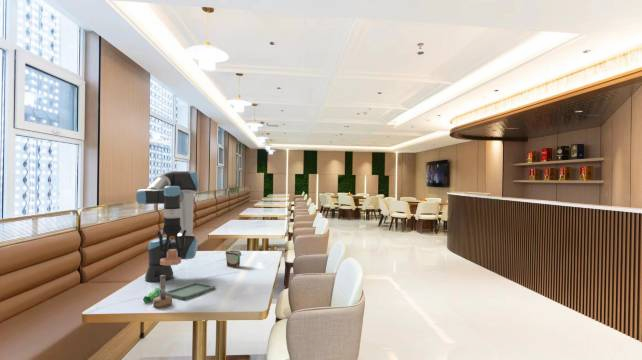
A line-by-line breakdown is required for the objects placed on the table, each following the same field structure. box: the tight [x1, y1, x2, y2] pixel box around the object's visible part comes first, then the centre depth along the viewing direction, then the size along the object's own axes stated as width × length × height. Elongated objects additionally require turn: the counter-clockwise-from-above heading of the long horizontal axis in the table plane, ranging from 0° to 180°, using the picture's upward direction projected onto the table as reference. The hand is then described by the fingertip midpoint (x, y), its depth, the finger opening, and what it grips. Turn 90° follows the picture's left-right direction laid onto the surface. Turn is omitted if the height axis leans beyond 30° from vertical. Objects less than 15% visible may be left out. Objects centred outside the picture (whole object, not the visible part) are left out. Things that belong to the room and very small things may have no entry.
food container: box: [224, 250, 242, 269], centre depth 236 cm, size 12×6×10 cm, turn 58°
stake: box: [152, 275, 173, 309], centre depth 165 cm, size 8×8×14 cm
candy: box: [142, 288, 160, 304], centre depth 174 cm, size 12×3×4 cm
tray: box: [165, 281, 216, 301], centre depth 184 cm, size 20×15×2 cm
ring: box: [160, 249, 182, 266], centre depth 171 cm, size 9×13×5 cm
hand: (172, 264), depth 176 cm, fingers closed on ring, 3 cm apart
